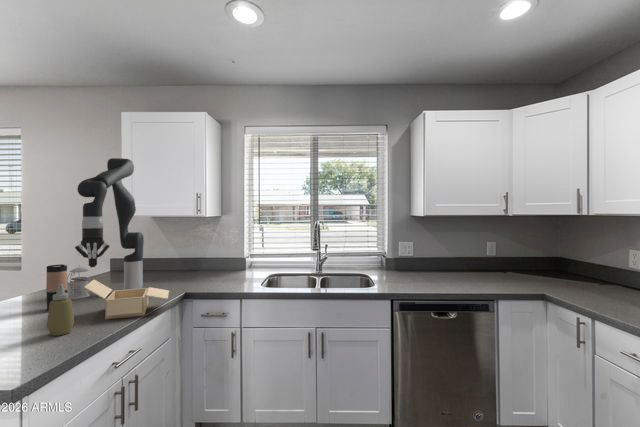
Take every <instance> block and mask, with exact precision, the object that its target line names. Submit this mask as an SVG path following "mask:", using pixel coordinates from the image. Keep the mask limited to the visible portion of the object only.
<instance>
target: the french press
mask: <svg viewBox="0 0 640 427" xmlns="http://www.w3.org/2000/svg"><path fill="white" fill-rule="evenodd" d="M76 252H77V253H79V252H78V251H77V250H76ZM69 272H70V273H69V274H67V286H69V295H68V298H67V299H71V300H72V299H73V300H75V299H76V300H77V299H84V298H87V297H90V296H91V294H90V293H89V290H87V289H85V288H84V287H85V286H86V285H87V284H89V280H88V276H76V277H72V276H75V275H76V274H80V273H85V272H89V269H87V268H86V267H80V266H78V267H74V268H73V269H71V270H70V271H69ZM71 277H72V278H71ZM68 279H69V280H68Z"/></svg>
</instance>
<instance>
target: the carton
mask: <svg viewBox="0 0 640 427" xmlns="http://www.w3.org/2000/svg"><path fill="white" fill-rule="evenodd" d="M148 289H149V287H145V288H144V287H143V289H129V290H124V289H120V290H118V289H117V290H112V291H111V292H110V293H111V294H110V293H109V296H108V297H106V298H105V299H104V302H105V303H104V304H105V306H104V310H105V312H104V314H105V316H104V317H105V320H114V319H124V318H136V317H142V316H145V315H146V312H147V309H148V307H149V296H146V294H147V291H148Z"/></svg>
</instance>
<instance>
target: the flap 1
mask: <svg viewBox="0 0 640 427" xmlns="http://www.w3.org/2000/svg"><path fill="white" fill-rule="evenodd" d="M84 288H85V289H87V290H88V292H90V293H92V294H94V295H96V296H97V297H98V298H99V297H100V298H101V299H103V300H106V299H107V298H108V297H107V296H108V295H110V293H112V292H113V289H112V288H110V287H108V286H107V285H104V284H103V283H101V282H99V281H98V280H96V279H93V280H91V281H90V282H88V284H87V285H86V286H85V287H84Z"/></svg>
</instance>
